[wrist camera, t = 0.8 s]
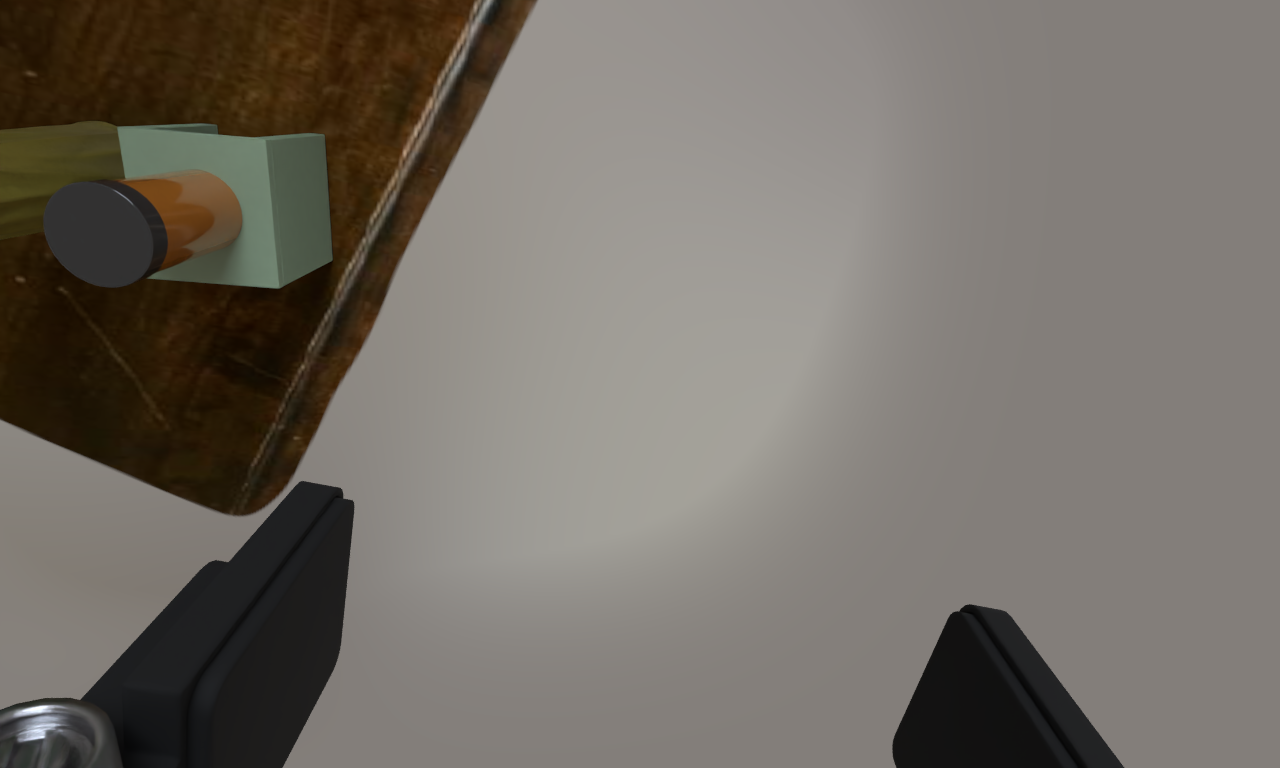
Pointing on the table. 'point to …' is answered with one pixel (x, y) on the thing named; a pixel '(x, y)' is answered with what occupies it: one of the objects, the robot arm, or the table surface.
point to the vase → (51, 168)
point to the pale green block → (247, 198)
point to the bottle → (139, 224)
